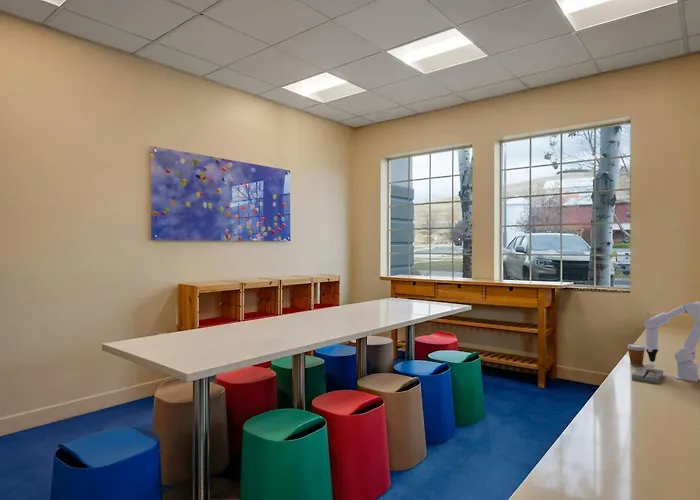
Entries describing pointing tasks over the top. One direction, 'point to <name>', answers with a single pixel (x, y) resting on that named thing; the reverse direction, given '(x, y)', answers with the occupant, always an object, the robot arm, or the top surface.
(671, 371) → the top surface
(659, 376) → the fader console
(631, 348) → the disposable coffee cup
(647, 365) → the fader tab
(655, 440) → the top surface
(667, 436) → the top surface
